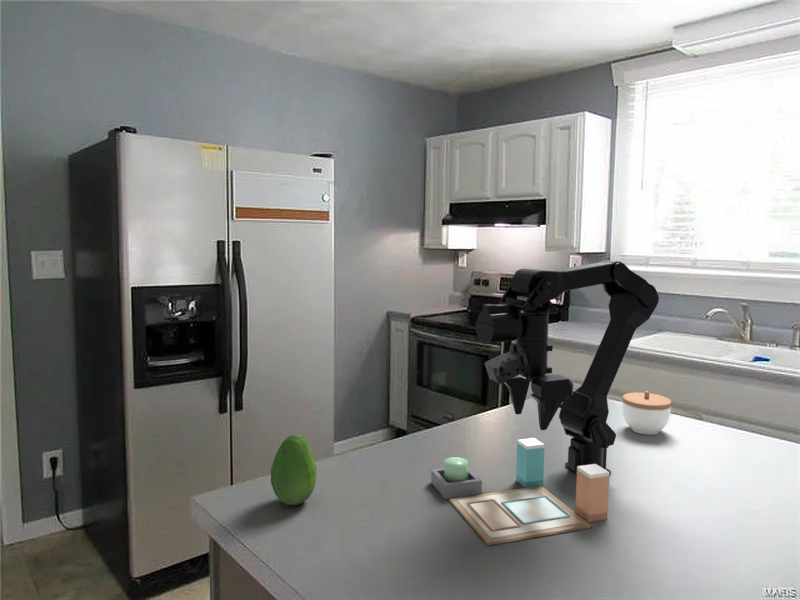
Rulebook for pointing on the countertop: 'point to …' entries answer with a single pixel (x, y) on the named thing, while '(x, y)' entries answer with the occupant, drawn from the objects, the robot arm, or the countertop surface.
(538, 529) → the colouring board
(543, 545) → the countertop surface
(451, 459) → the button
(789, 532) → the countertop surface
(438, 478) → the button pad
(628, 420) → the lidded jar
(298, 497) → the avocado
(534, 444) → the teal white tall block
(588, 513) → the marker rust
